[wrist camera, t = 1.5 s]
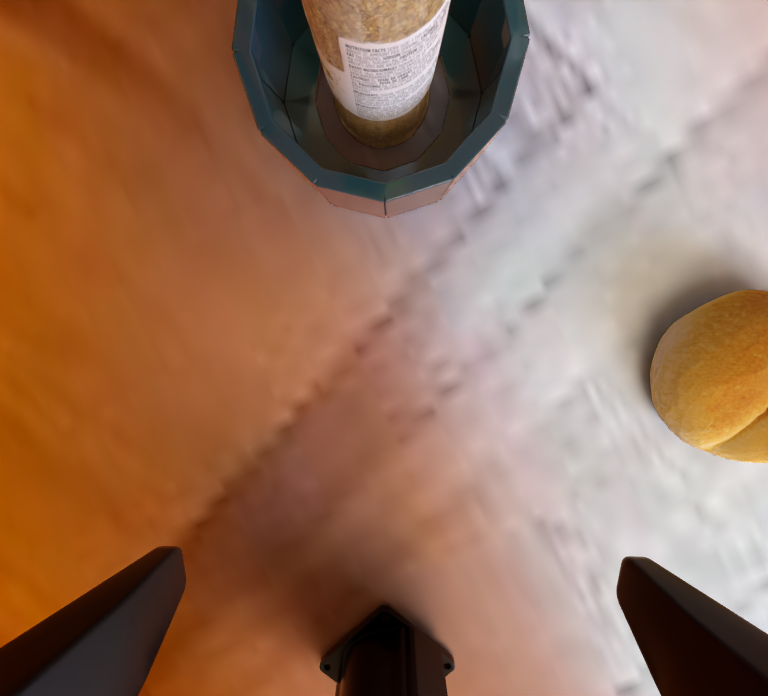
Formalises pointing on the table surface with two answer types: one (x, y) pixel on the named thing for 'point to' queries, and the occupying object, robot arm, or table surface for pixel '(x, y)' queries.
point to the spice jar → (378, 62)
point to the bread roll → (717, 377)
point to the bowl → (303, 124)
